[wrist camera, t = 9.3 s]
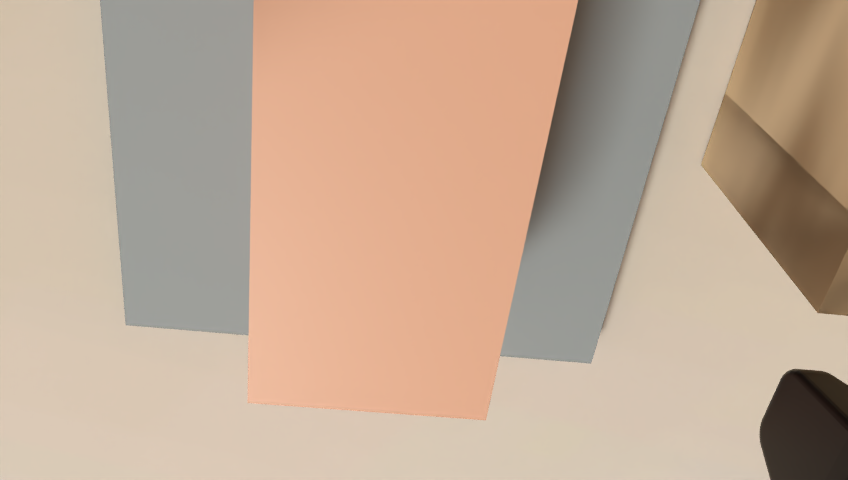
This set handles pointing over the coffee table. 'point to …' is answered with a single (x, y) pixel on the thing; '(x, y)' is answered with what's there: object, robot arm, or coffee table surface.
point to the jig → (791, 142)
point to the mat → (231, 164)
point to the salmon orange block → (393, 195)
